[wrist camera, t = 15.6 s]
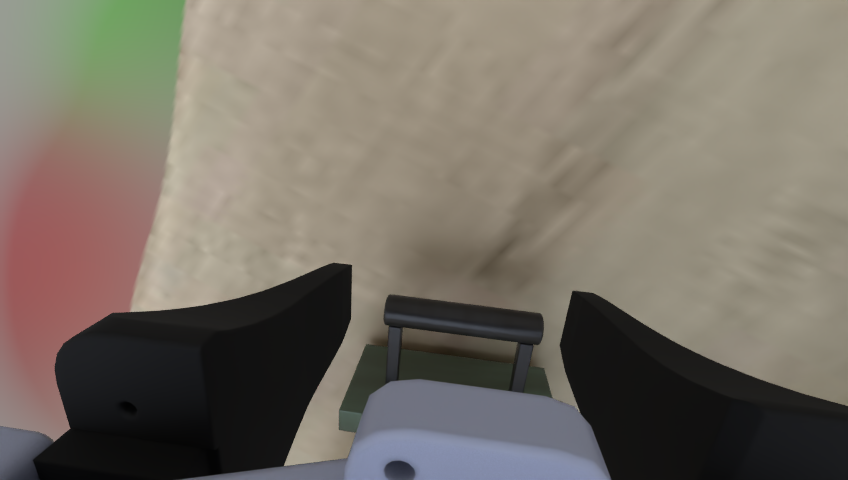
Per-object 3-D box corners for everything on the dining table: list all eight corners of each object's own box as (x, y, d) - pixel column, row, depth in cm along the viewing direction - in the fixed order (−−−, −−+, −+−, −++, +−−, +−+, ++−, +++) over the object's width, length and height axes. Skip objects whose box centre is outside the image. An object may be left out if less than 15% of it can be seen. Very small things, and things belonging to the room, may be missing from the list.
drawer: (369, 263, 21) (340, 312, 16) (562, 286, 20) (593, 345, 16) (360, 474, 26) (336, 559, 22) (513, 498, 26) (524, 592, 21)
